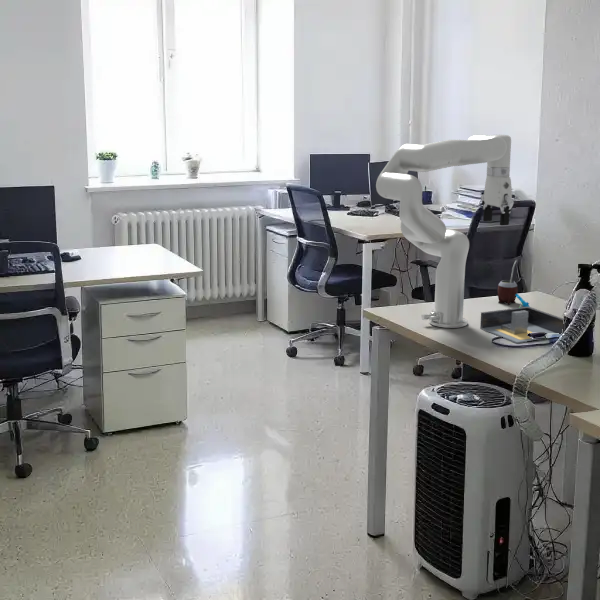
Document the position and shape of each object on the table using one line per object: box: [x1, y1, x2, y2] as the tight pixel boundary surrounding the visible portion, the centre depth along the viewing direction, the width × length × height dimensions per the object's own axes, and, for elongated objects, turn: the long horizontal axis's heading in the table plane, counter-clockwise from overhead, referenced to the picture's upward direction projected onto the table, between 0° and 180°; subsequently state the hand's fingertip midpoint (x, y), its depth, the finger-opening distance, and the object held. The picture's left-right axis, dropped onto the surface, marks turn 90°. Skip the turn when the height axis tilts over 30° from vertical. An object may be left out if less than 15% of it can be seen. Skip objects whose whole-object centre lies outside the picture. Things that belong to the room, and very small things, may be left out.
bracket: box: [501, 310, 528, 335], centre depth 292 cm, size 7×5×7 cm
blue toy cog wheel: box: [515, 293, 531, 308], centre depth 315 cm, size 11×6×10 cm
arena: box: [479, 306, 565, 344], centre depth 293 cm, size 19×19×6 cm
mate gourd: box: [497, 260, 519, 306], centre depth 331 cm, size 8×8×15 cm
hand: (495, 222), depth 308 cm, fingers open, 9 cm apart
